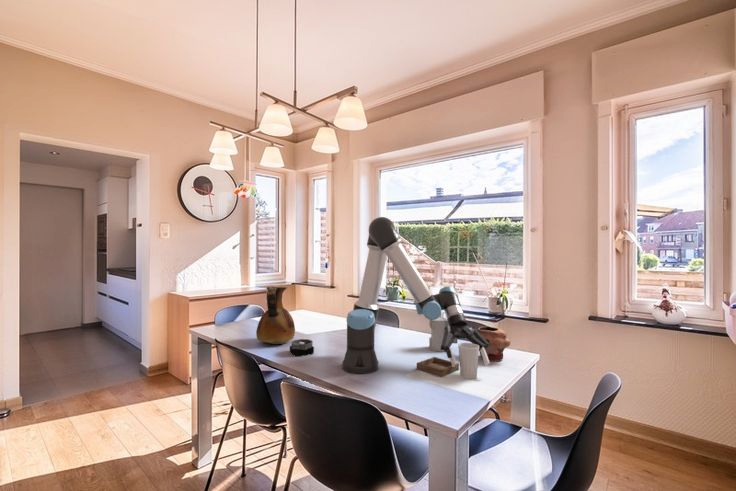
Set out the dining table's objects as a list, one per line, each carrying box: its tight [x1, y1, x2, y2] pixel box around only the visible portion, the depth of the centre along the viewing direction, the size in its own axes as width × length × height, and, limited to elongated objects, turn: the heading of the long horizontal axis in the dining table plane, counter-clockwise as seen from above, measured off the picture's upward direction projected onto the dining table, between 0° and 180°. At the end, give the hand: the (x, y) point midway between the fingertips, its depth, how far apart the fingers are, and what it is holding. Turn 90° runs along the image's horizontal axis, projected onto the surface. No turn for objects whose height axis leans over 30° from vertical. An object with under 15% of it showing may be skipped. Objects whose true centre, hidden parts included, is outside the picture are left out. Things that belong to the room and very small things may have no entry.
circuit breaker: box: [428, 317, 458, 352], centre depth 175 cm, size 8×14×15 cm, turn 89°
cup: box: [457, 342, 480, 380], centre depth 137 cm, size 8×8×12 cm
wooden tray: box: [416, 356, 460, 378], centre depth 144 cm, size 12×12×3 cm
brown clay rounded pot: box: [468, 326, 511, 362], centre depth 160 cm, size 20×12×14 cm, turn 56°
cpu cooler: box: [289, 338, 315, 357], centre depth 166 cm, size 10×6×10 cm
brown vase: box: [255, 285, 296, 345], centre depth 184 cm, size 20×20×30 cm
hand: (471, 364), depth 135 cm, fingers open, 13 cm apart
